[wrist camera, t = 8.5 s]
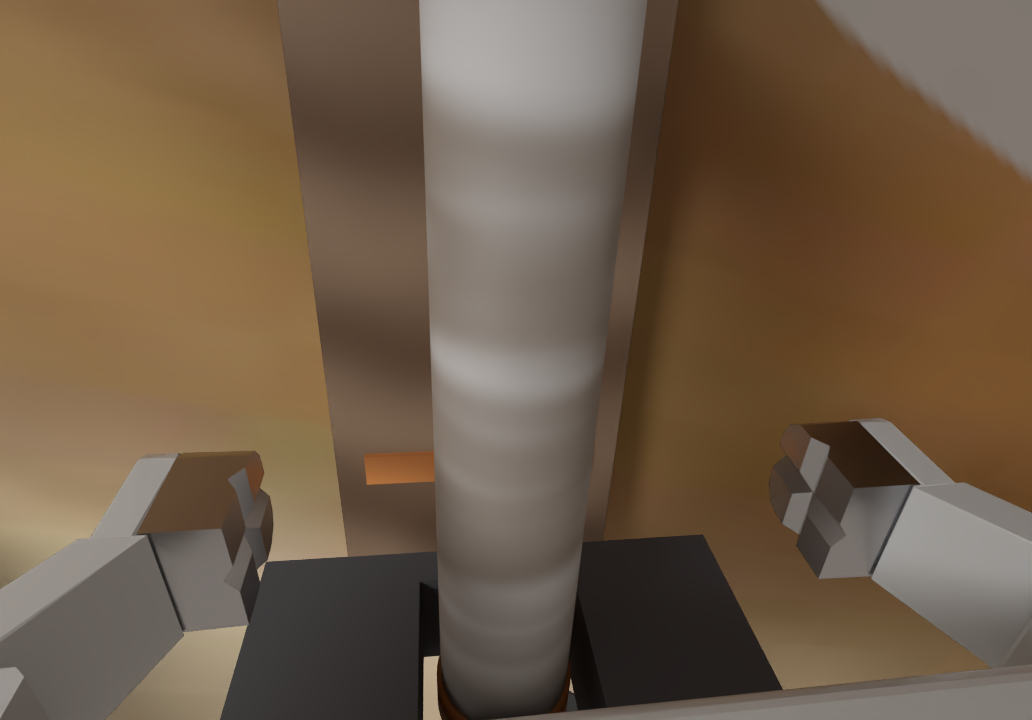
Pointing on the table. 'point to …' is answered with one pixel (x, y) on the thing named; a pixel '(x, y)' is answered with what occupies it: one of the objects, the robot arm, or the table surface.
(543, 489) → the rod stand
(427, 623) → the collar
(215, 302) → the table surface
